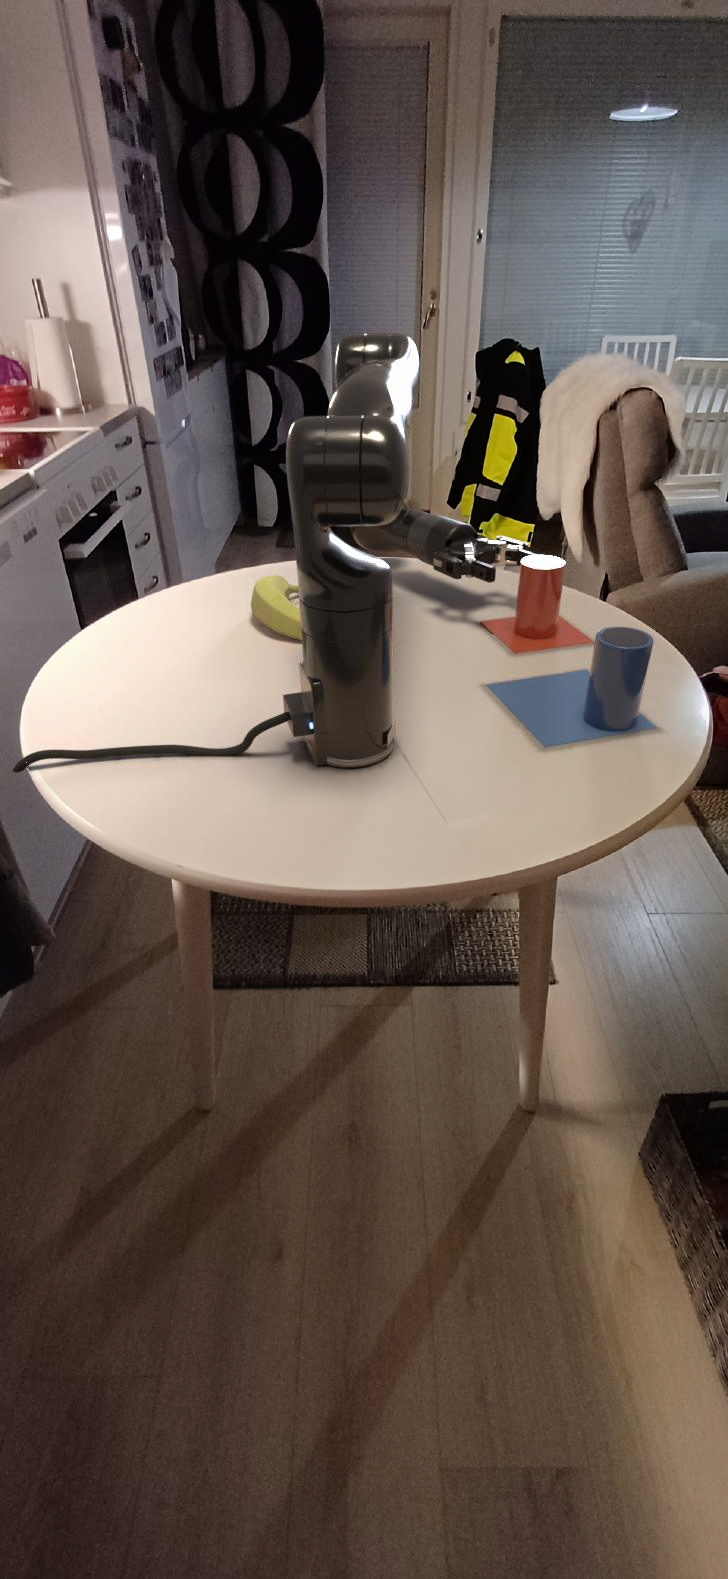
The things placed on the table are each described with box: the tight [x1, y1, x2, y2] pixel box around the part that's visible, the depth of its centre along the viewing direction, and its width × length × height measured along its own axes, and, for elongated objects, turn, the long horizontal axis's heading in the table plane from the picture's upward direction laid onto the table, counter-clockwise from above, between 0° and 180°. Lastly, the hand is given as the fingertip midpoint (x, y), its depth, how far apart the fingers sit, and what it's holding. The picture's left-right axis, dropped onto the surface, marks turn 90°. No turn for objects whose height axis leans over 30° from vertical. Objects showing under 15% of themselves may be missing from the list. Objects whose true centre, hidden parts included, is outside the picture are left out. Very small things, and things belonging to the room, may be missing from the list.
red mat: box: [479, 615, 595, 654], centre depth 111 cm, size 12×12×1 cm
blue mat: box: [485, 669, 658, 748], centre depth 92 cm, size 14×16×1 cm
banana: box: [250, 574, 302, 641], centre depth 117 cm, size 14×6×20 cm
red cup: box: [514, 554, 566, 639], centre depth 108 cm, size 6×6×10 cm
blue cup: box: [583, 626, 655, 731], centre depth 86 cm, size 6×6×10 cm
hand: (516, 569), depth 110 cm, fingers open, 8 cm apart
